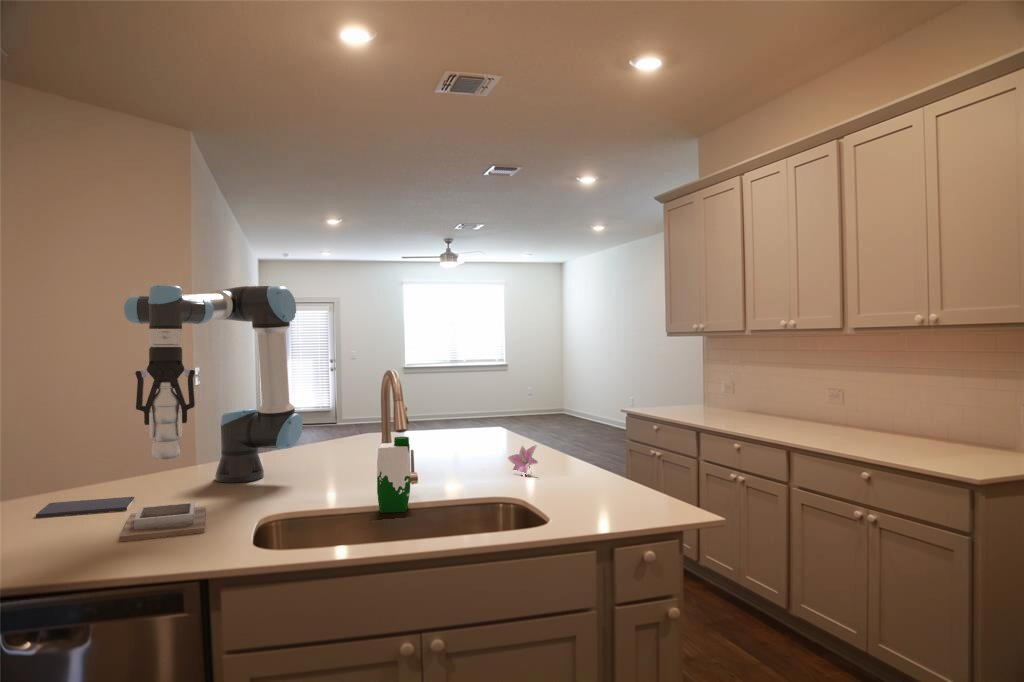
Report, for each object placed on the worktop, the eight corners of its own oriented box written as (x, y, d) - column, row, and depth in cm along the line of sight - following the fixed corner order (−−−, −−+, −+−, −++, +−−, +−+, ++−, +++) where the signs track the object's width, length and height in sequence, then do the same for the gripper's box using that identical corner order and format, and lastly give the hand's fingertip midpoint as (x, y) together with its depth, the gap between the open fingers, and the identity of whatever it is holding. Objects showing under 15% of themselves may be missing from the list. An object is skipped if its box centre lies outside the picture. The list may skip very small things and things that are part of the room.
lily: (506, 473, 240) (500, 451, 236) (535, 458, 243) (529, 437, 239) (520, 490, 230) (514, 468, 226) (550, 474, 233) (544, 453, 229)
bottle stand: (130, 518, 177) (130, 504, 177) (205, 510, 184) (205, 497, 184) (119, 541, 157) (119, 526, 157) (204, 532, 164) (204, 517, 164)
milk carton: (409, 513, 182) (409, 439, 182) (375, 513, 181) (375, 440, 181) (411, 504, 191) (411, 435, 191) (379, 505, 190) (379, 435, 190)
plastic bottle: (168, 462, 166) (168, 382, 166) (145, 461, 168) (144, 382, 167) (186, 457, 173) (186, 380, 172) (163, 456, 174) (163, 380, 174)
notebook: (35, 520, 177) (127, 512, 184) (35, 514, 177) (127, 506, 184) (49, 508, 189) (135, 501, 196) (49, 502, 189) (135, 496, 196)
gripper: (121, 346, 163) (121, 441, 163) (206, 346, 170) (206, 436, 170) (125, 346, 169) (125, 437, 170) (206, 345, 177) (206, 432, 177)
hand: (166, 436), depth 170 cm, fingers closed on plastic bottle, 6 cm apart
